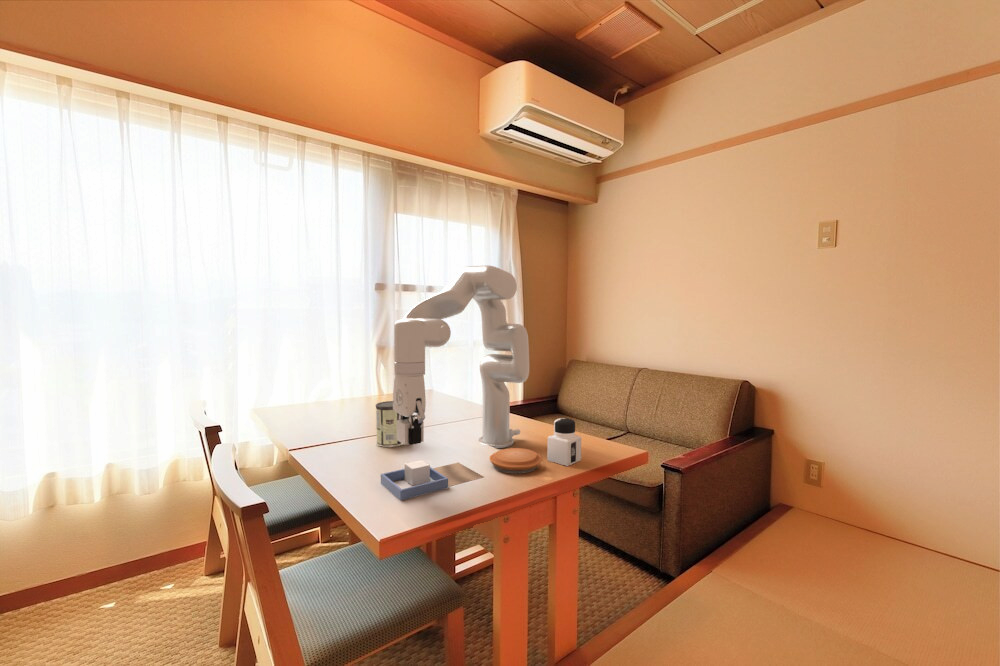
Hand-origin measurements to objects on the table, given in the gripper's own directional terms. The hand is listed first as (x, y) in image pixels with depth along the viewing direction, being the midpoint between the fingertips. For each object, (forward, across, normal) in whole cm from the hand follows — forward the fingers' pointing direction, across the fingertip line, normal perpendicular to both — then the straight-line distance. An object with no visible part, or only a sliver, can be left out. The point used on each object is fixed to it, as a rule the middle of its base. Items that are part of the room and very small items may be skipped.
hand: (410, 440), depth 107 cm
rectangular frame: (+14, -3, +2) cm, 15 cm away
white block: (+14, -5, +4) cm, 15 cm away
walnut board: (+14, -4, +15) cm, 21 cm away
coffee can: (+14, -45, +13) cm, 49 cm away
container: (+14, +4, +50) cm, 52 cm away
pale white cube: (0, 0, 0) cm, 0 cm away
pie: (+14, +1, +33) cm, 36 cm away
